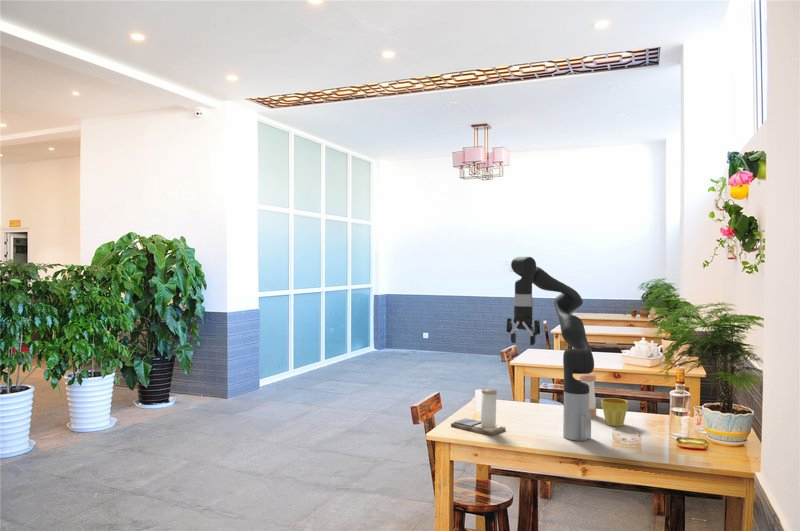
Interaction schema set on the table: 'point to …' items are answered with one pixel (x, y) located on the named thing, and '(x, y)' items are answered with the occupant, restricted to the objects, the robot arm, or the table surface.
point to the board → (477, 427)
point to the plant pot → (614, 411)
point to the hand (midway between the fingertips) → (522, 344)
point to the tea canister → (488, 408)
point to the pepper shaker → (590, 391)
